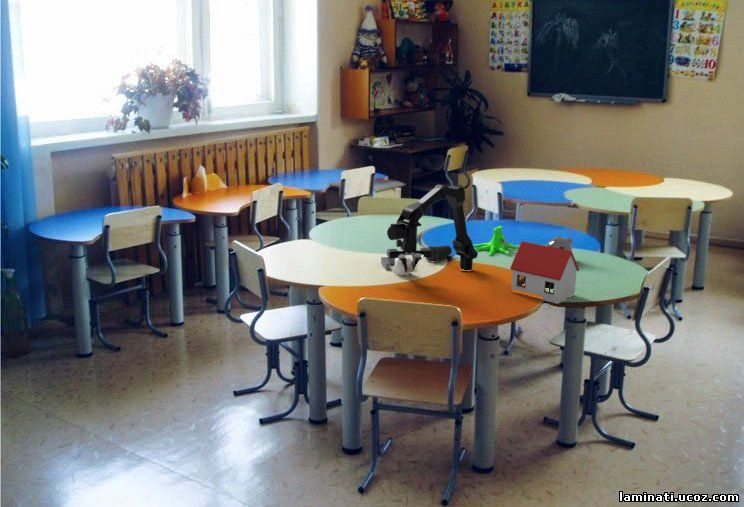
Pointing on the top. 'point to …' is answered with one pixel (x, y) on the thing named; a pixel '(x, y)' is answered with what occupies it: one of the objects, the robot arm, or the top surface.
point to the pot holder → (388, 262)
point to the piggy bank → (561, 243)
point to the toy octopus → (496, 243)
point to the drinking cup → (439, 252)
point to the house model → (544, 271)
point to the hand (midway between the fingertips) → (408, 272)
